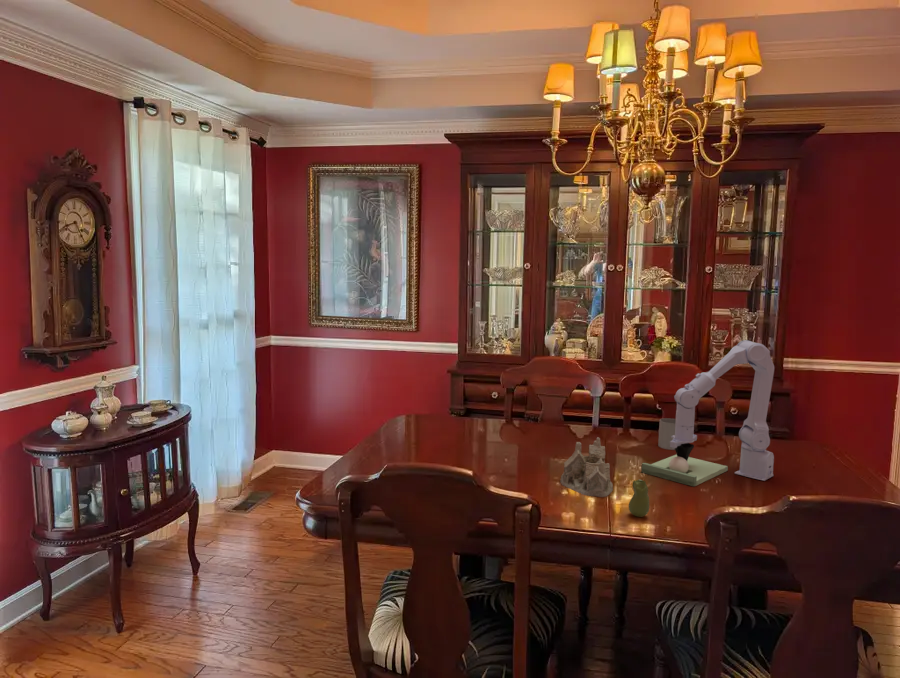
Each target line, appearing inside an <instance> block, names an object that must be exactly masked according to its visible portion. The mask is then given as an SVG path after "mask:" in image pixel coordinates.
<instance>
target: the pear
mask: <svg viewBox="0 0 900 678" xmlns="http://www.w3.org/2000/svg"><path fill="white" fill-rule="evenodd" d="M632 489H633V495H632V497H631V499H630V501H629V503H628V510H629V512H630V514H631V515H633V516H634V517H636V518H643V517H645V516H647V514H648V513H649V511H650V497H649V487H648V484H646V481H645V480H643V479H635V480H632Z"/></svg>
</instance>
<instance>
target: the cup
mask: <svg viewBox="0 0 900 678" xmlns="http://www.w3.org/2000/svg"><path fill="white" fill-rule="evenodd" d="M675 423H676V418H671V417H670V418H667V417H665V418H660V419H659V427H658V441H657V443H658V444H657V446H658V447H659V448H661V449H664V450H669V451H670V450H672V451H675V448H672V447H670V441H672V440H673V438H671V436H673V435H675Z"/></svg>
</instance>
